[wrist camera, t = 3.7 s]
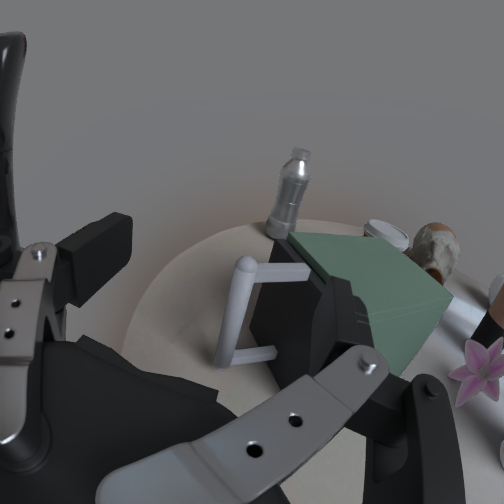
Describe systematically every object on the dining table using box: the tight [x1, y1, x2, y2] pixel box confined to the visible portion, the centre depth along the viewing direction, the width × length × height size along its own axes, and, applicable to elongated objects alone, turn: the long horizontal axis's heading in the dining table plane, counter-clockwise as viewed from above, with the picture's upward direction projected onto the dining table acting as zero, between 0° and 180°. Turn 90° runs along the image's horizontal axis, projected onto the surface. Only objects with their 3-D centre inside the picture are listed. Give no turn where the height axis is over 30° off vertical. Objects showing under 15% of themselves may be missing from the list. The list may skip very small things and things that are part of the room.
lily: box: [448, 337, 504, 408], centre depth 31 cm, size 12×12×10 cm
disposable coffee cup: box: [363, 219, 409, 253], centre depth 53 cm, size 10×10×12 cm
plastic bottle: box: [265, 147, 311, 240], centre depth 61 cm, size 6×7×20 cm
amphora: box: [412, 223, 460, 286], centre depth 64 cm, size 14×16×30 cm
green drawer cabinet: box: [286, 232, 454, 377], centre depth 33 cm, size 16×14×14 cm
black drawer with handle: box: [214, 238, 326, 390], centre depth 31 cm, size 22×14×15 cm, turn 111°
